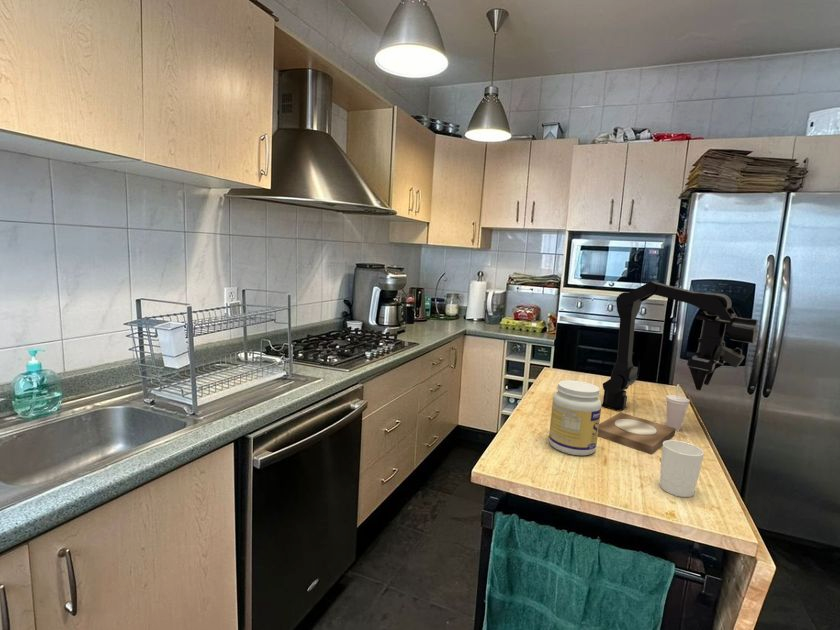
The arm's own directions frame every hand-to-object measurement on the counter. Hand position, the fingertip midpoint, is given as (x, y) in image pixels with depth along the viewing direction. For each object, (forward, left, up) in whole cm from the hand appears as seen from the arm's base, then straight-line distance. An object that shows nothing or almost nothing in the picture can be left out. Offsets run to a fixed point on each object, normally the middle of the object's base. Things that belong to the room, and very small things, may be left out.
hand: (702, 387), depth 136 cm
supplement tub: (-19, -42, -14) cm, 49 cm away
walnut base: (-11, -19, -14) cm, 26 cm away
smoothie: (-5, -3, -14) cm, 15 cm away
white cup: (+7, -44, -14) cm, 47 cm away
